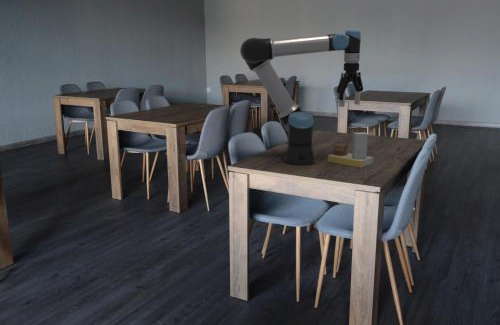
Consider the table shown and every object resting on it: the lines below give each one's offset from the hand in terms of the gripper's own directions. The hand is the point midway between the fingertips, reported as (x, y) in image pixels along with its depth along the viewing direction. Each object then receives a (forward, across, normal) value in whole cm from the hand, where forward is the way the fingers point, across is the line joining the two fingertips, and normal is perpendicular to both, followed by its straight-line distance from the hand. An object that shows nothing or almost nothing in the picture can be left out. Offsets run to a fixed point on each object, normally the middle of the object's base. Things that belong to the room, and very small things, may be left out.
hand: (349, 105), depth 233 cm
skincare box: (+23, -12, -14) cm, 30 cm away
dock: (+26, -12, -10) cm, 30 cm away
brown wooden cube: (+23, -13, -4) cm, 26 cm away
